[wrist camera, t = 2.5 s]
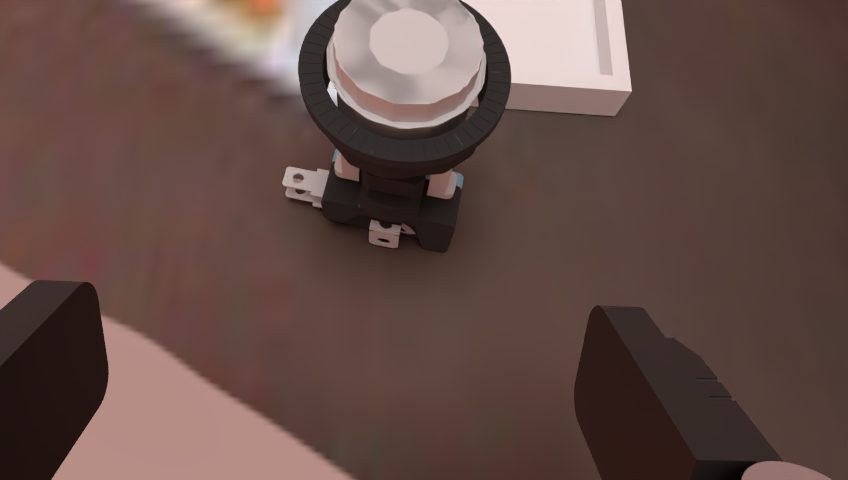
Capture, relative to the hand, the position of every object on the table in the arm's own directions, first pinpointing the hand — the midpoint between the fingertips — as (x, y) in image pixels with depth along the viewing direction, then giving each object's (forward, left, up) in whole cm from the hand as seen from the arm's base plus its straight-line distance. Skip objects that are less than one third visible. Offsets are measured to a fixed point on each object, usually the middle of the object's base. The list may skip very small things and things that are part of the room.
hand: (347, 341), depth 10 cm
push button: (0, -8, -12) cm, 14 cm away
